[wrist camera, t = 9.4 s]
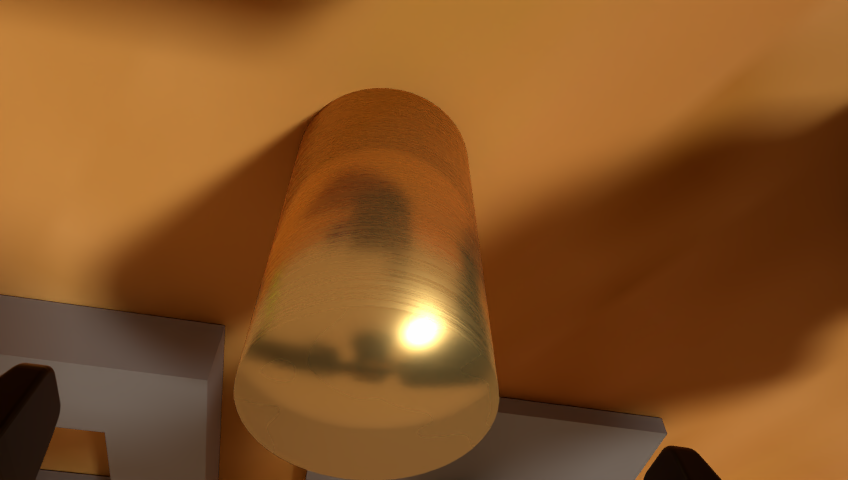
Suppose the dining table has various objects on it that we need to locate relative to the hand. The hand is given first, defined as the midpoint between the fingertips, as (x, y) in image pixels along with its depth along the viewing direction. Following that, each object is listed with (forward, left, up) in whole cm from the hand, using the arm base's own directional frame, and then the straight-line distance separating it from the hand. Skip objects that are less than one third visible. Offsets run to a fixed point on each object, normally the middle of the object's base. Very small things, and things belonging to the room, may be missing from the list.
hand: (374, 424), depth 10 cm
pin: (0, 0, -7) cm, 7 cm away
